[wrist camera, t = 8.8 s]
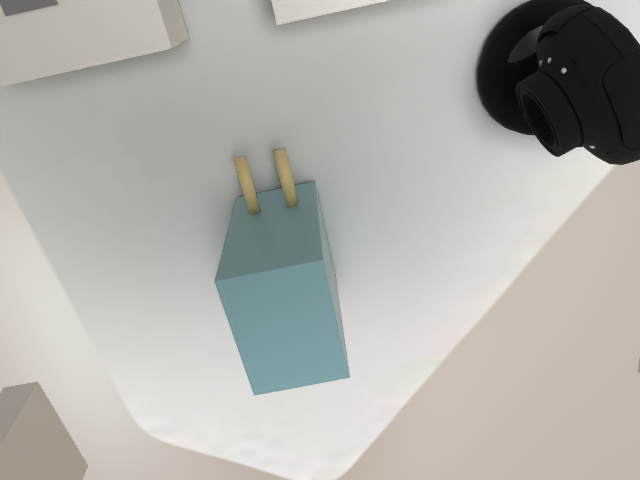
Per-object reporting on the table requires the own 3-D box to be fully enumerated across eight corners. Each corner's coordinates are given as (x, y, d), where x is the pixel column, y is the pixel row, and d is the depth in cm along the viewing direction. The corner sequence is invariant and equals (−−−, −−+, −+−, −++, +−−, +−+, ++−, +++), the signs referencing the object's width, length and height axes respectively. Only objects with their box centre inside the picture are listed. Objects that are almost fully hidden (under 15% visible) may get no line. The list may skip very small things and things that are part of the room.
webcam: (452, 41, 29) (523, 71, 20) (580, -38, 28) (718, -44, 19) (505, 155, 32) (586, 224, 23) (622, 90, 31) (757, 137, 22)
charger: (221, 148, 31) (193, 218, 22) (303, 131, 31) (308, 194, 22) (264, 292, 36) (254, 397, 27) (336, 277, 35) (350, 379, 27)
